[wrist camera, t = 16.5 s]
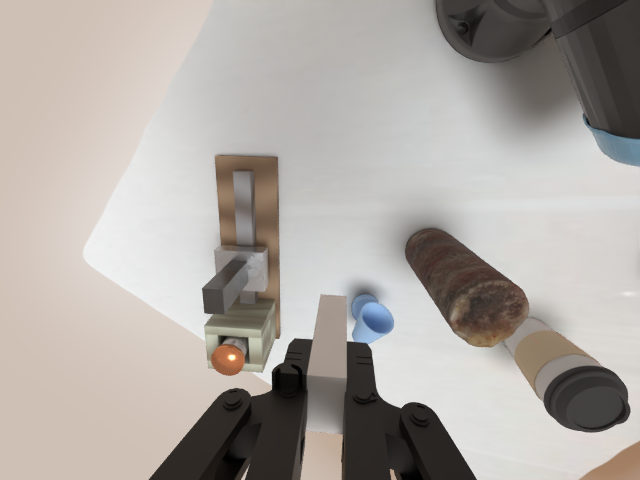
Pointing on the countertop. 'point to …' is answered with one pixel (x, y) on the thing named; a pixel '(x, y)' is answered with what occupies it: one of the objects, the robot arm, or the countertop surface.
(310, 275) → the countertop surface
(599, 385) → the coffee cup
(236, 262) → the carriage
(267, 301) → the rail
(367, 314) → the spotlight
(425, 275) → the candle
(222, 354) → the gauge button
